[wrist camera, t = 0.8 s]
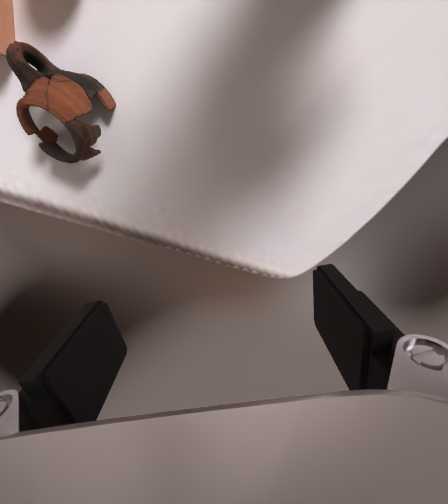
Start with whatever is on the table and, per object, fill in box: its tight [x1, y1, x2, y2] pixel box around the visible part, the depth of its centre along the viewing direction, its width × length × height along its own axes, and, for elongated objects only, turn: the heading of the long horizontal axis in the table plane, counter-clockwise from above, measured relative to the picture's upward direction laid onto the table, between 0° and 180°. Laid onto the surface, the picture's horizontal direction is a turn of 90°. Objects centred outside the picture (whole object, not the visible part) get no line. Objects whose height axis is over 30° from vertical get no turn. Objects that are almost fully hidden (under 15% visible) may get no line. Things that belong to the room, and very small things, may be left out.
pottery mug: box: [6, 41, 116, 163], centre depth 28 cm, size 12×10×8 cm
